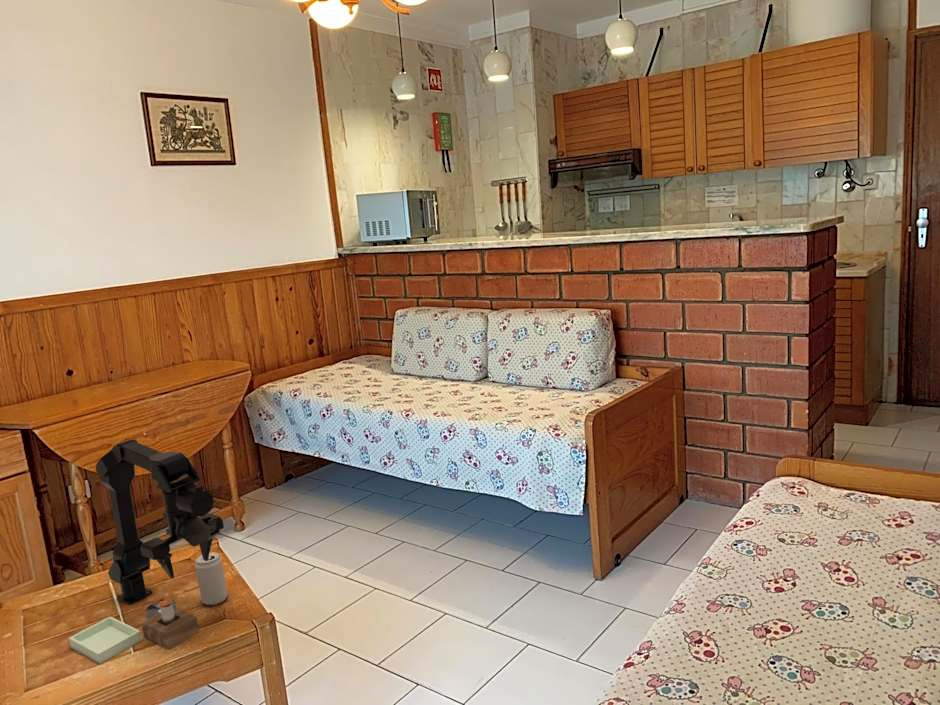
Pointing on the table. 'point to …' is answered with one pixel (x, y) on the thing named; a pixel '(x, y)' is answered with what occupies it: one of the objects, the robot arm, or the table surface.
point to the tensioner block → (170, 629)
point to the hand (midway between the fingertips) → (189, 569)
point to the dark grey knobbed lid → (156, 609)
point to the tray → (105, 639)
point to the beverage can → (211, 579)
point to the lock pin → (167, 611)
